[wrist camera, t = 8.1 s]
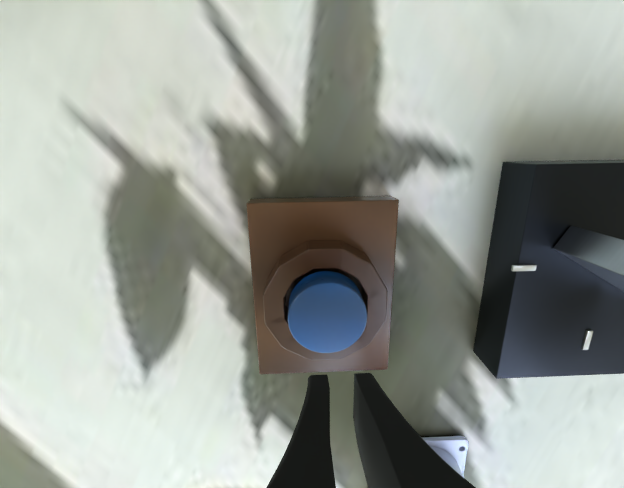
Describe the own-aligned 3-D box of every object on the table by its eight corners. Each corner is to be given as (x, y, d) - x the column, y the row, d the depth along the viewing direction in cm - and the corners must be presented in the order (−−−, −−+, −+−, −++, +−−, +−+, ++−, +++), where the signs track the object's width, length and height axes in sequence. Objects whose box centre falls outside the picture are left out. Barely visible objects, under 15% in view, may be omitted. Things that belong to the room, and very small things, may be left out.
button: (360, 334, 20) (366, 352, 18) (290, 337, 20) (289, 355, 18) (362, 269, 18) (369, 281, 17) (287, 271, 18) (286, 283, 17)
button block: (381, 354, 24) (395, 388, 20) (262, 359, 24) (255, 393, 20) (391, 195, 20) (409, 205, 17) (250, 198, 20) (240, 208, 17)
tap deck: (617, 345, 24) (661, 374, 21) (468, 351, 24) (492, 380, 21) (675, 158, 20) (741, 160, 17) (496, 161, 20) (532, 164, 17)
